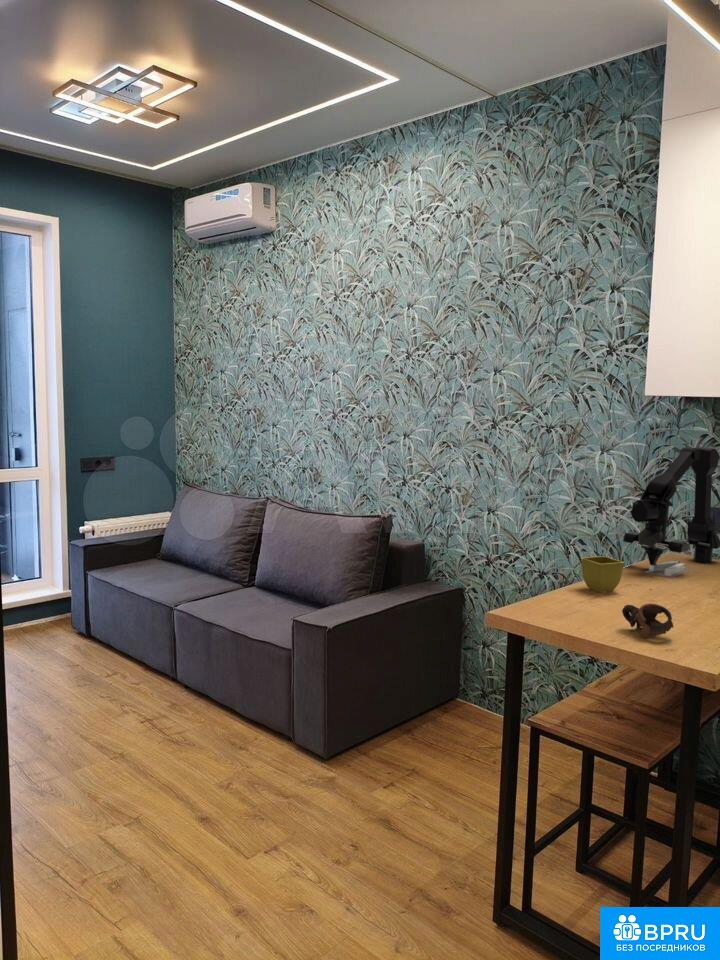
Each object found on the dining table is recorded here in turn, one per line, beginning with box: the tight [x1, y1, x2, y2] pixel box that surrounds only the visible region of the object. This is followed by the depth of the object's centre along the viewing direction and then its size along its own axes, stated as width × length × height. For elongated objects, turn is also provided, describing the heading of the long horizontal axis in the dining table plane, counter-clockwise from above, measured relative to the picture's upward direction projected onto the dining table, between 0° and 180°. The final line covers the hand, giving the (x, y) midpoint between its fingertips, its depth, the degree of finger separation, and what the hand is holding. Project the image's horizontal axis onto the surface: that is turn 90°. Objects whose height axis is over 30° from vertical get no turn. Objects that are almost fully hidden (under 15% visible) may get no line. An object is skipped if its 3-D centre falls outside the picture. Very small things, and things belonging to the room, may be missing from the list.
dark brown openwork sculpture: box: [621, 603, 674, 639], centre depth 178 cm, size 12×10×8 cm
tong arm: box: [648, 560, 681, 572], centre depth 240 cm, size 14×2×2 cm, turn 123°
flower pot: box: [580, 555, 625, 593], centre depth 216 cm, size 9×9×9 cm
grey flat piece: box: [644, 562, 692, 578], centre depth 239 cm, size 16×9×3 cm, turn 137°
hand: (652, 568), depth 239 cm, fingers closed
